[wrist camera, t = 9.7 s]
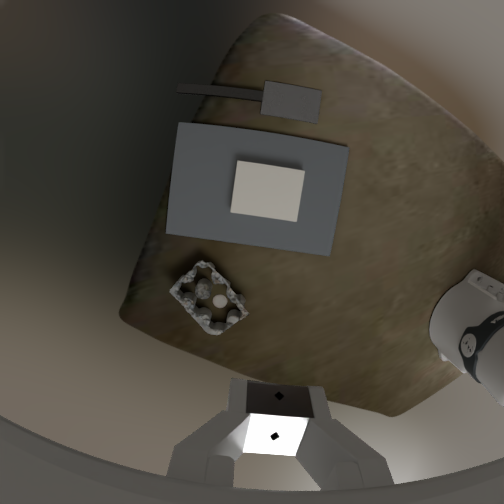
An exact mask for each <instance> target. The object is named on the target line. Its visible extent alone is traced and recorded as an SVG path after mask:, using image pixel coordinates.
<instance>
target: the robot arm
mask: <svg viewBox="0 0 504 504" xmlns="http://www.w3.org/2000/svg"><path fill="white" fill-rule="evenodd" d="M478 277H479V278H478ZM429 332H430V338H431V340H432V342H433V344H434V345H435V346H436V347H437V348H438V352H439V357H440V359H441V360H443V361H448V360H449V361H450V362H451V363H452V364H453V365H455V366H456V367H457V368H458V369H459V370H460V371H461V372H463V373H466V372H468V373H469V375H470V376H471V377H472V378H473V379H475V380H476V381H477V382H478V383H481V384H482V385H483V386H484V387H485V388H486V389H487V390H488V392H489V393H490V394H491V395H492V396H493V397H494V399H495V400H496V401H497V402H498V403H499V404H500V405H501V406H503V407H504V284H503V283H501V282H500V281H498V280H496V279H494V278H492V277H490V276H488V275H486V274H484V273H482V272H480V271H478V270H476V269H473V270H472V271H471V272H470V273H469V274H468V275H467V276H466V277H465V279H464V280H463V281H461V282H460V283H458V284H457V285H455V286H454V287H452V288H451V289H450V290H449V291H447V292H446V293H445V295H444V296H443V297H442V298H441V299H440V301H439V302H438V304H437V306H436V307H435V309H434V312H433V314H432V317H431V321H430V328H429ZM243 452H249V453H265V454H278V455H292V456H295V457H296V459H297V460H298V461H299V462H300V463H301V465H302V466H303V467H304V469H305V470H306V471H307V472H308V473H309V474H310V476H311V477H312V478H313V479H314V481H315V482H316V483H317V484H318V486H319V487H320V488H321V490H320V491H275V490H258V489H246V488H236V487H233V479H234V462H235V461H236V460H237V459H238V458H239V457H240V456H241V455H242V453H243ZM0 504H504V458H501V459H498V460H495V461H492V462H489V463H486V464H483V465H480V466H476V467H473V468H469V469H466V470H462V471H458V472H455V473H451V474H446V475H442V476H438V477H433V478H429V479H424V480H419V481H413V482H407V483H401V484H394V482H393V479H392V476H391V473H390V470H389V468H388V465H387V462H386V459H385V458H384V457H383V456H381V455H380V454H379V453H378V452H376V451H375V450H374V449H373V448H371V447H370V446H368V445H367V444H366V443H365V442H364V441H362V440H361V439H360V438H358V437H357V436H356V435H355V434H354V433H352V432H351V431H350V430H348V429H347V428H346V427H345V426H344V425H342V424H341V423H340V422H339V421H338V420H336V419H332V418H331V414H330V411H329V407H328V404H327V399H326V396H325V392H324V388H323V387H320V386H294V385H282V384H274V383H266V382H259V381H251V380H243V379H236V378H231V383H230V389H229V396H228V403H227V409H226V411H224V410H223V411H221V412H220V413H219V414H217V415H216V416H215V417H213V418H212V419H211V420H209V421H208V422H207V423H205V424H204V425H203V426H201V427H200V428H199V429H197V430H196V431H195V432H193V433H192V434H191V435H189V436H188V437H187V438H185V439H184V440H183V441H181V442H180V443H178V444H177V445H175V446H174V450H173V454H172V457H171V460H170V464H169V468H168V472H167V475H166V476H162V475H157V474H153V473H149V472H145V471H141V470H137V469H133V468H130V467H126V466H123V465H119V464H116V463H113V462H109V461H106V460H103V459H100V458H97V457H94V456H91V455H88V454H85V453H83V452H80V451H77V450H74V449H72V448H69V447H67V446H64V445H62V444H59V443H57V442H55V441H52V440H50V439H47V438H45V437H43V436H41V435H38V434H36V433H34V432H32V431H30V430H28V429H26V428H24V427H22V426H20V425H18V424H16V423H14V422H12V421H10V420H8V419H6V418H4V417H2V416H1V415H0Z"/></svg>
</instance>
